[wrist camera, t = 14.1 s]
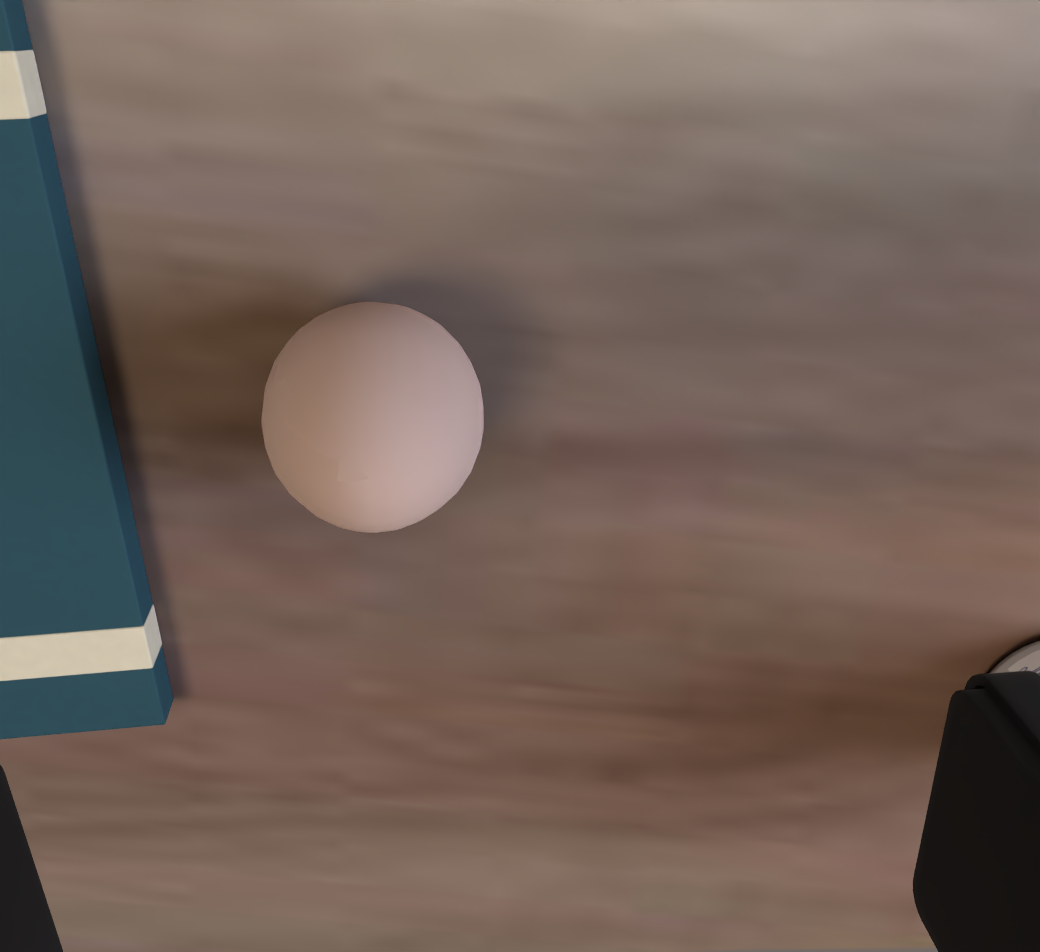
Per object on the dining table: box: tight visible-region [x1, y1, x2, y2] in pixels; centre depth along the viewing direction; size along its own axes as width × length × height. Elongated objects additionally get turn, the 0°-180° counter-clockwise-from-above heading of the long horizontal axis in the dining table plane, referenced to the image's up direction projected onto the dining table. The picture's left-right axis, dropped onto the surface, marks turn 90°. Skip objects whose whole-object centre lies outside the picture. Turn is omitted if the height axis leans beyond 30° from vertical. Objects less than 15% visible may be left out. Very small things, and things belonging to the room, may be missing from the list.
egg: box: [261, 302, 484, 533], centre depth 23 cm, size 5×5×7 cm
